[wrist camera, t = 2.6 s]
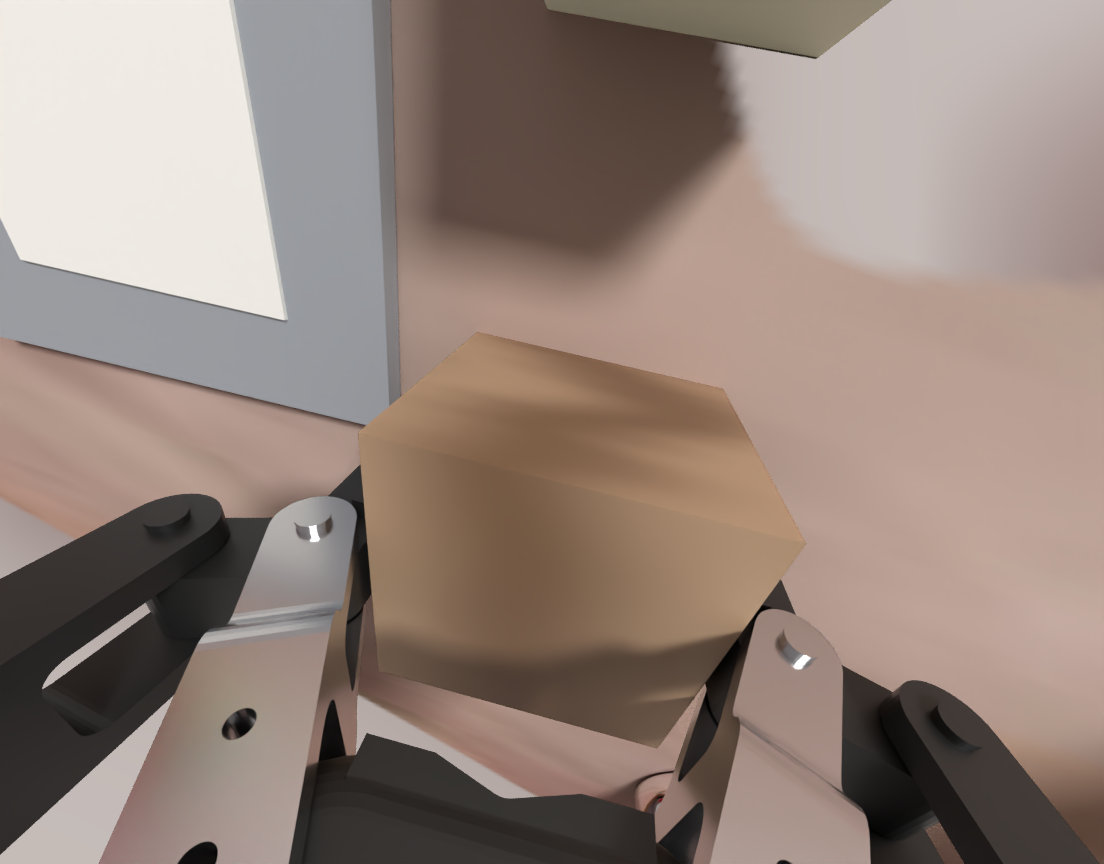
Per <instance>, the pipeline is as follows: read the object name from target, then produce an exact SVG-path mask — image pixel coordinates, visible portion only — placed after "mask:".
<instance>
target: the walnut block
mask: <svg viewBox="0 0 1104 864" xmlns="http://www.w3.org/2000/svg"><path fill="white" fill-rule="evenodd" d="M358 440H359V451H360V463H361V475H362V486H363V498H364V509H365V521H366V532H367V544H368V556H369V567H370V579H371V590H372V602H373V614H374V625H375V637H376V648H377V660H378V671H381V672H384V673H388V674H392V675H395V676H399V677H402V678H406V679H410V680H413V681H417V682H420V683H424V684H427V685H431V686H435V687H438V688H442V689H445V690H449V691H453V692H456V693H460V694H463V695H467V696H471V697H474V698H478V699H481V700H485V701H489V702H492V703H496V704H499V705H503V706H506V707H510V708H514V709H517V710H521V711H524V712H528V713H532V714H535V715H539V716H542V717H546V718H550V719H553V720H557V721H560V722H564V723H568V724H571V725H575V726H578V727H582V728H585V729H589V730H593V731H596V732H600V733H603V734H607V735H611V736H614V737H618V738H621V739H625V740H629V741H632V742H636V743H639V744H643V745H647V746H650V747H654V748H658V747H659V746H660V744H661V743H662V742H663V740H664V739H665V737H666V736H667V735H668V733H669V732H670V731H671V729H672V728H673V726H674V725H675V724H676V722H677V721H678V720H679V718H680V717H681V715H682V714H683V713H684V711H685V710H686V709H687V707H688V706H689V704H690V703H691V702H692V700H693V699H694V698H695V696H696V695H697V693H698V692H699V691H700V689H701V688H702V687H703V685H704V684H705V682H706V681H707V680H708V678H709V677H710V676H711V674H712V673H713V671H714V670H715V669H716V667H717V666H718V665H719V663H720V662H721V660H722V659H723V658H724V656H725V655H726V654H727V652H728V651H729V649H730V648H731V647H732V645H733V644H734V643H735V641H736V640H737V638H738V637H739V636H740V634H741V633H742V632H743V630H744V629H745V627H746V626H747V625H748V623H749V622H750V621H751V619H752V618H753V616H754V615H755V614H756V612H757V611H758V610H759V608H760V607H761V605H762V604H763V603H764V601H765V600H766V599H767V597H768V596H769V594H770V593H771V592H772V590H773V589H774V588H775V586H776V585H777V583H778V582H779V581H780V579H781V578H782V577H783V575H784V574H785V572H786V571H787V570H788V568H789V567H790V566H791V564H792V563H793V561H794V560H795V559H796V557H797V556H798V555H799V553H800V552H801V550H802V549H803V548H804V546H805V545H806V542H805V540H804V539H803V537H802V535H801V533H800V531H799V529H798V527H797V526H796V524H795V522H794V520H793V518H792V516H791V514H790V513H789V511H788V509H787V507H786V505H785V503H784V501H783V499H782V498H781V496H780V494H779V492H778V490H777V488H776V486H775V485H774V483H773V481H772V479H771V477H770V475H769V473H768V472H767V470H766V468H765V466H764V464H763V462H762V460H761V459H760V457H759V455H758V453H757V451H756V449H755V447H754V445H753V444H752V442H751V440H750V438H749V436H748V434H747V432H746V431H745V429H744V427H743V425H742V423H741V421H740V419H739V418H738V416H737V414H736V412H735V410H734V408H733V406H732V405H731V403H730V401H729V399H728V397H727V395H726V393H725V392H724V390H723V389H721V388H717V387H713V386H708V385H704V384H700V383H695V382H691V381H687V380H682V379H678V378H674V377H669V376H665V375H661V374H656V373H652V372H648V371H644V370H639V369H635V368H631V367H626V366H622V365H618V364H613V363H609V362H605V361H600V360H596V359H592V358H587V357H583V356H579V355H574V354H570V353H566V352H562V351H557V350H553V349H549V348H544V347H540V346H536V345H531V344H527V343H523V342H518V341H514V340H510V339H505V338H501V337H497V336H493V335H488V334H484V333H480V332H477V333H476V334H475V335H474V336H472V337H471V338H470V339H469V340H468V341H467V342H465V343H464V344H463V345H462V346H461V347H459V348H458V349H457V350H456V351H455V352H453V353H452V354H451V355H450V356H449V357H447V358H446V359H445V360H444V361H443V362H441V363H440V364H439V365H438V366H437V367H435V368H434V369H433V370H432V371H431V372H429V373H428V374H427V375H426V376H425V377H424V378H422V379H421V380H420V381H419V382H418V383H416V384H415V385H414V386H413V387H412V388H410V389H409V390H408V391H407V392H406V393H404V394H403V395H402V396H401V397H400V398H398V399H397V400H396V401H395V402H394V403H392V404H391V405H390V406H389V407H388V408H386V409H385V410H384V411H383V412H382V413H380V414H379V415H378V416H377V417H376V418H375V419H373V420H372V421H371V422H370V423H369V424H367V425H366V426H365V427H364V428H363V429H361V430H360V431H359V432H358Z"/></svg>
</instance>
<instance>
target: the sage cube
mask: <svg viewBox="0 0 1104 864" xmlns="http://www.w3.org/2000/svg"><path fill="white" fill-rule="evenodd" d="M890 1H891V0H544V2H545V4H546V7H547V9H548V10H554V11H559V12H565V13H571V14H576V15H582V16H588V17H593V18H599V19H604V20H610V21H616V22H621V23H627V24H633V25H638V26H644V27H650V28H655V29H661V30H666V31H672V32H678V33H683V34H689V35H695V36H700V37H706V38H711V39H717V40H723V41H726V43H728V44H734V45H739V46H745V47H751V48H756V49H762V50H767V51H773V52H779V53H784V54H790V55H795V56H801V57H807V58H812V59H817V58H818V57H819V56H821V55H822V54H823V53H825V52H826V51H827V50H828V49H830V48H831V47H832V46H833V45H835V44H836V43H837V42H839V41H840V40H841V39H843V38H844V37H845V36H846V35H848V34H849V33H850V32H852V31H853V30H854V29H855V28H857V27H858V26H859V25H860V24H862V23H863V22H864V21H866V20H867V19H868V18H870V17H871V16H872V15H873V14H875V13H876V12H877V11H879V9H881V8H882V7H884V6H885V5H886V4H888V3H889V2H890Z"/></svg>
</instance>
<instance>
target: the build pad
mask: <svg viewBox="0 0 1104 864" xmlns="http://www.w3.org/2000/svg"><path fill="white" fill-rule="evenodd" d="M0 337H4V338H8V339H12V340H17V341H21V342H25V343H29V344H33V345H37V346H41V347H46V348H50V349H54V350H58V351H62V352H66V353H70V354H74V355H79V356H83V357H87V358H91V359H95V360H99V361H103V362H107V363H112V364H116V365H120V366H124V367H128V368H132V369H136V370H141V371H145V372H149V373H153V374H157V375H161V376H165V377H169V378H174V379H178V380H182V381H186V382H190V383H194V384H198V385H202V386H207V387H211V388H215V389H219V390H223V391H227V392H231V393H236V394H240V395H244V396H248V397H252V398H256V399H260V400H264V401H269V402H273V403H277V404H281V405H285V406H289V407H293V408H297V409H302V410H306V411H310V412H314V413H318V414H322V415H326V416H331V417H335V418H339V419H343V420H347V421H351V422H355V423H359V424H364V425H367V424H369V423H370V422H371V421H372V420H373V419H375V418H376V417H377V416H378V415H379V414H380V413H382V412H383V411H384V410H385V409H386V408H388V407H389V406H390V405H391V404H392V403H394V402H395V401H396V400H397V399H398V398H400V397H401V395H400V356H399V317H398V279H397V240H396V201H395V163H394V124H393V85H392V47H391V8H390V0H0Z"/></svg>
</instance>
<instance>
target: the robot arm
mask: <svg viewBox="0 0 1104 864" xmlns="http://www.w3.org/2000/svg"><path fill="white" fill-rule="evenodd" d="M371 594H372V590H371V579H370V567H369V556H368V544H367V532H366V521H365V509H364V498H363V486H362V475H361V464H360V465H359V466H358V467H357V468H356V469H355V470H354V471H353V472H352V473H351V474H350V475H349V476H348V477H347V478H346V479H345V480H344V481H343V482H342V483H341V484H340V485H339V486H338V487H337V488H336V489H335V490H334V491H333V492H332V493H331V494H330V495H329V496H319V497H312V498H307V499H303V500H300V501H297V502H295V503H292V504H291V505H289V506H287V507H285V508H284V509H282V510H281V511H279V512H278V513H277V514H276V515H275V516H274V517H273V518H225V515H224V512H223V509H222V506H221V505H220V503H219V502H218V501H217V500H216V499H214V498H212V497H210V496H207V495H201V494H181V495H174V496H169V497H164V498H161V499H158V500H155V501H152V502H149V503H147V504H144V505H142V506H140V507H138V508H136V509H134V510H132V511H130V512H128V513H126V514H124V515H123V516H121V517H119V518H117V519H115V520H113V521H111V522H109V523H107V524H105V525H103V526H101V527H99V528H98V529H96V530H94V531H92V532H90V533H88V534H86V535H84V536H82V537H80V538H78V539H76V540H74V541H73V542H71V543H69V544H67V545H65V546H63V547H61V548H59V549H57V550H55V551H53V552H52V553H50V554H48V555H46V556H44V557H42V558H40V559H38V560H36V561H34V562H32V563H30V564H28V565H26V566H24V567H22V568H21V569H19V570H17V571H15V572H13V573H11V574H9V575H7V576H5V577H3V578H1V579H0V854H1V853H3V851H5V850H6V849H7V848H8V847H9V846H10V845H11V844H12V843H13V842H14V841H16V840H17V839H18V838H19V837H20V836H21V835H22V834H23V833H24V832H25V831H26V830H27V829H29V828H30V827H31V826H32V825H33V824H34V823H35V822H36V821H37V820H38V819H40V817H42V816H43V815H44V814H45V813H46V812H47V811H48V810H49V809H50V808H51V807H52V806H54V805H55V804H56V803H57V802H58V801H59V800H60V799H61V798H62V797H63V796H64V795H65V794H67V793H68V792H69V791H70V790H71V789H72V788H73V787H74V786H75V785H76V784H78V782H80V781H81V780H82V779H83V778H84V777H85V776H86V775H87V774H88V773H89V772H90V771H92V770H93V769H94V768H95V767H96V766H97V765H98V764H99V763H100V762H101V761H103V760H104V759H105V758H106V757H107V756H108V755H109V754H110V753H111V752H112V751H113V750H114V749H116V747H118V746H119V745H120V744H121V743H122V742H123V741H124V740H125V739H126V738H127V737H129V736H130V735H131V734H132V733H133V732H134V731H135V730H136V729H137V728H138V727H140V725H142V724H143V723H144V722H145V721H146V720H147V719H148V718H149V717H150V716H151V715H153V713H155V712H156V711H157V710H158V709H159V708H160V707H161V706H162V705H163V704H164V703H166V702H167V701H168V700H169V699H170V698H171V697H172V696H173V695H174V694H175V695H174V697H173V699H172V701H171V704H170V706H169V708H168V710H167V713H166V715H165V717H164V719H163V721H162V724H161V726H160V728H159V730H158V733H157V735H156V737H155V739H154V741H153V744H152V746H151V748H150V750H149V753H148V755H147V757H146V760H145V761H144V764H143V766H142V769H141V770H140V773H139V775H138V777H137V780H136V782H135V784H134V786H133V788H132V790H131V793H130V795H129V797H128V799H127V802H126V804H125V806H124V808H123V811H122V813H121V815H120V817H119V820H118V822H117V824H116V826H115V828H114V831H113V833H112V835H111V837H110V840H109V842H108V844H107V846H106V848H105V851H104V853H103V855H102V857H101V859H100V862H99V864H944V862H943V861H942V859H941V857H940V855H939V854H938V852H937V850H936V848H935V847H934V845H933V843H932V841H931V840H930V838H929V836H928V834H927V833H926V831H925V829H927V828H929V827H931V826H933V825H935V824H937V823H939V822H940V824H941V825H942V827H943V829H944V830H945V832H946V834H947V835H948V837H949V839H950V840H951V842H952V844H953V845H954V847H955V849H956V850H957V852H958V854H959V855H960V857H961V859H962V860H963V862H964V864H1099V862H1098V861H1097V860H1096V859H1095V857H1094V856H1093V855H1092V854H1091V852H1090V851H1089V850H1088V849H1087V847H1086V846H1085V845H1084V844H1083V842H1082V841H1081V840H1080V839H1079V837H1078V836H1077V835H1076V834H1075V832H1074V831H1073V830H1072V829H1071V827H1070V826H1069V825H1068V824H1067V822H1066V821H1065V820H1064V819H1063V817H1062V816H1061V815H1060V814H1059V812H1058V811H1057V810H1056V809H1055V808H1054V806H1053V805H1052V804H1051V803H1050V801H1049V800H1048V799H1047V798H1046V796H1045V795H1044V794H1043V793H1042V791H1041V790H1040V789H1039V788H1038V786H1037V785H1036V784H1035V783H1034V781H1033V780H1032V779H1031V778H1030V776H1029V775H1028V774H1027V773H1026V771H1025V770H1024V769H1023V768H1022V766H1021V765H1020V764H1019V763H1018V761H1017V760H1016V759H1015V758H1014V756H1013V755H1012V754H1011V753H1010V751H1009V750H1008V749H1007V748H1006V746H1005V745H1004V744H1003V743H1002V741H1001V740H1000V739H999V738H998V737H997V735H996V734H995V733H994V732H993V731H992V729H991V728H990V727H989V726H988V725H987V724H986V723H985V722H984V721H983V720H982V719H981V718H980V717H979V716H978V715H977V714H976V713H975V712H974V711H973V710H972V709H970V708H969V707H968V706H967V705H965V704H964V703H963V702H962V701H960V700H959V699H957V698H956V697H954V696H953V695H951V694H950V693H948V692H946V691H945V690H943V689H941V688H939V687H937V686H935V685H932V684H929V683H927V682H923V681H916V680H911V681H907V682H905V683H904V684H903V685H901V686H900V687H899V688H898V689H896V690H895V691H894V692H891V691H889V690H887V689H886V688H884V687H882V686H880V685H878V684H876V683H874V682H872V681H870V680H868V679H867V678H865V677H863V676H861V675H859V674H857V673H855V672H853V671H851V670H850V669H848V668H846V667H844V666H843V665H841V661H840V659H839V657H838V655H837V653H836V651H835V650H834V648H833V646H832V645H831V644H830V642H829V641H828V640H827V639H826V638H825V637H824V636H823V635H822V633H820V632H819V631H818V630H817V629H816V628H815V627H814V626H812V625H811V624H810V623H808V622H807V621H805V620H804V619H802V618H800V617H799V616H797V615H796V614H795V612H794V610H793V607H792V605H791V602H790V600H789V598H788V595H787V593H786V591H785V588H784V586H783V583H782V581H781V579H780V581H779V582H778V583H777V585H776V586H775V588H774V589H773V590H772V592H771V593H770V594H769V596H768V597H767V599H766V600H765V601H764V603H763V604H762V605H761V607H760V608H759V610H758V611H757V612H756V614H755V615H754V616H753V618H752V619H751V621H750V622H749V623H748V625H747V626H746V627H745V629H744V630H743V632H742V633H741V634H740V636H739V637H738V638H737V640H736V641H735V643H734V644H733V645H732V647H731V648H730V649H729V651H728V652H727V654H726V655H725V656H724V658H723V659H722V660H721V662H720V663H719V665H718V666H717V667H716V669H715V670H714V671H713V673H712V674H711V676H710V677H709V678H708V680H707V681H706V682H705V684H706V688H705V689H704V691H703V692H702V693H701V695H700V697H699V699H698V702H697V705H696V708H695V711H694V714H693V717H692V720H691V723H690V726H689V728H688V731H687V734H686V737H685V740H684V743H683V746H682V749H681V752H680V755H679V758H678V761H677V764H676V767H675V770H674V773H673V775H672V778H671V781H670V784H669V787H668V789H667V791H666V794H665V796H664V798H663V800H662V802H661V803H660V805H659V807H658V809H657V811H656V813H655V815H654V814H650V813H647V812H643V811H640V810H636V809H633V808H629V807H626V806H622V805H619V804H615V803H612V802H608V801H604V800H601V799H597V798H594V797H590V796H587V795H583V794H576V795H561V796H545V797H530V798H515V799H507V798H502V797H499V796H498V795H496V794H494V793H493V792H491V791H490V790H488V789H487V788H486V787H484V786H482V785H481V784H480V783H478V782H477V781H475V780H474V779H472V778H471V777H470V776H468V775H467V774H465V773H464V772H463V771H461V770H460V769H458V768H457V767H455V766H454V765H453V764H451V763H450V762H448V761H447V760H445V759H444V758H442V757H441V756H440V755H438V754H437V753H435V752H431V751H428V750H424V749H421V748H417V747H413V746H410V745H407V744H403V743H399V742H396V741H392V740H389V739H385V738H382V737H378V736H375V735H371V734H368V733H367V734H366V736H365V738H364V740H363V742H362V744H361V746H360V748H359V750H358V752H357V754H356V737H357V736H356V735H357V696H358V686H359V676H360V667H361V657H362V647H363V638H364V628H365V619H366V601H367V600H368V598H369V597H370V595H371ZM145 602H146V604H147V606H148V608H149V610H150V611H151V612H150V613H149V614H147V615H146V616H144V617H143V618H142V619H140V620H139V621H138V622H136V623H135V624H133V625H132V626H131V627H129V628H128V629H127V630H125V631H124V632H122V633H121V634H120V635H118V636H117V637H116V638H114V639H113V640H111V641H110V642H109V643H108V644H106V645H105V646H103V647H102V648H100V649H99V650H98V651H96V652H95V653H93V654H92V655H91V656H89V657H88V658H87V659H85V660H84V661H83V662H81V663H80V664H78V665H77V666H76V667H74V668H73V669H71V670H70V671H69V672H67V673H66V674H65V675H63V676H62V677H61V678H59V679H58V680H56V681H55V682H54V683H52V684H51V685H49V686H48V687H46V688H44V689H42V687H43V684H44V682H45V680H46V679H47V677H48V676H49V674H50V673H51V672H52V671H53V670H54V669H55V667H57V666H58V665H59V664H60V663H61V662H62V661H63V660H65V659H66V658H67V657H69V656H70V655H71V654H73V653H74V652H76V651H77V650H78V649H80V648H81V647H83V646H84V645H86V644H87V643H88V642H90V641H91V640H93V639H94V638H96V637H97V636H98V635H100V634H101V633H102V632H104V631H105V630H107V629H108V628H110V627H111V626H113V625H114V624H116V623H117V622H118V621H120V620H121V619H123V618H124V617H126V616H127V615H128V614H130V613H131V612H133V611H134V610H135V609H137V608H138V607H140V606H141V605H142V604H144V603H145ZM355 754H356V755H355Z"/></svg>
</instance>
